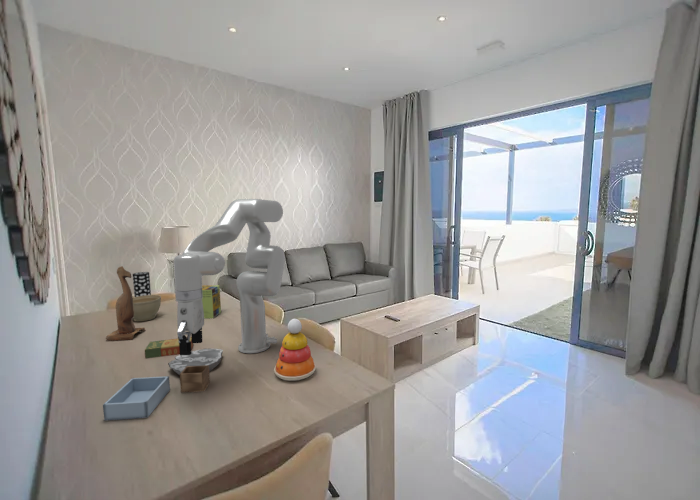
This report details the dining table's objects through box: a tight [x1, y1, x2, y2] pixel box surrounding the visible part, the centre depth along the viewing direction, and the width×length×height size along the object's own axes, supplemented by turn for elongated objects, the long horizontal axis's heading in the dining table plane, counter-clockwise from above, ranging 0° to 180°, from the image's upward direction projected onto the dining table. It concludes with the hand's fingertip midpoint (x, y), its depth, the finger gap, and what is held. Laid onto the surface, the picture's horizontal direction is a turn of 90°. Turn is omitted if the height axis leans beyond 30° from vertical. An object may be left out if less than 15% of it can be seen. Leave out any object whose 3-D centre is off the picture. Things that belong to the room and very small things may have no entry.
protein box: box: [202, 284, 222, 320], centre depth 181 cm, size 10×15×16 cm
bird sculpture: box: [105, 265, 146, 342], centre depth 151 cm, size 11×12×32 cm
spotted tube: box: [132, 271, 152, 297], centre depth 199 cm, size 8×8×20 cm
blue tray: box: [102, 375, 171, 421], centre depth 99 cm, size 11×14×4 cm
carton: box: [144, 337, 194, 359], centre depth 136 cm, size 8×16×4 cm, turn 108°
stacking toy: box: [273, 318, 317, 382], centre depth 116 cm, size 14×14×20 cm
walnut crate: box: [179, 365, 211, 393], centre depth 108 cm, size 7×6×6 cm
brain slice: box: [167, 348, 224, 376], centre depth 122 cm, size 20×17×3 cm
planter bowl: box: [132, 294, 162, 322], centre depth 177 cm, size 16×16×11 cm
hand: (191, 348), depth 106 cm, fingers open, 9 cm apart
